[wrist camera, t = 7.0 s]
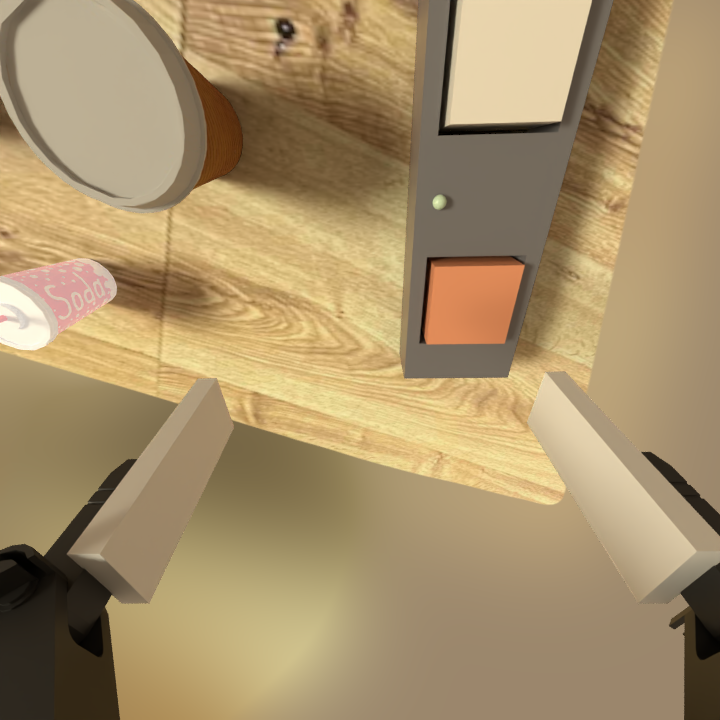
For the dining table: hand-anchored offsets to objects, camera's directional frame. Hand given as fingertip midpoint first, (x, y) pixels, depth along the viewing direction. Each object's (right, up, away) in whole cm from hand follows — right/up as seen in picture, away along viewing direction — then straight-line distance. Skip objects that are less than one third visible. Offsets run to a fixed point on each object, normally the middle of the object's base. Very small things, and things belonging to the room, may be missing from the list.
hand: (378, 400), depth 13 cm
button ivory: (+8, +22, +9) cm, 26 cm away
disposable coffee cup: (-13, +20, +12) cm, 27 cm away
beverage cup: (-28, +10, +19) cm, 35 cm away
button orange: (+9, +9, +18) cm, 22 cm away
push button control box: (+9, +18, +13) cm, 24 cm away
